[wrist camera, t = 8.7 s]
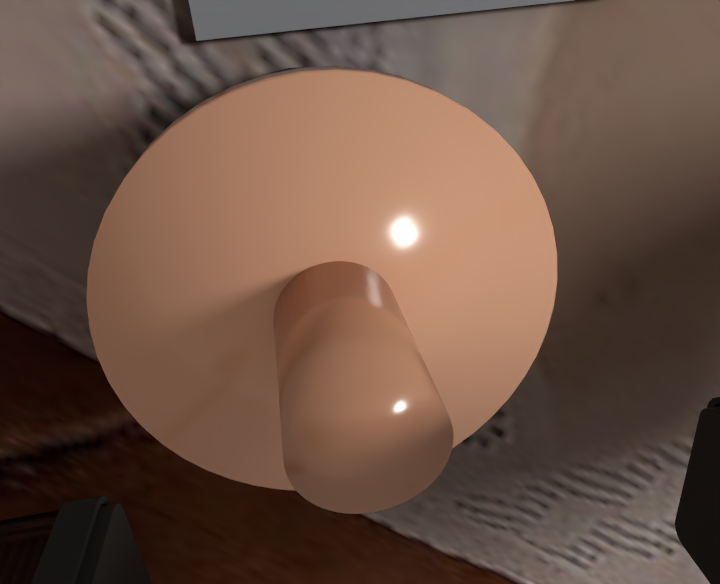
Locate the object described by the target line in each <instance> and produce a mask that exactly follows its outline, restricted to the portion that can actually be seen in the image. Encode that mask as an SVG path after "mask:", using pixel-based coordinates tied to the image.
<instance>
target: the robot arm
mask: <svg viewBox="0 0 720 584" xmlns="http://www.w3.org/2000/svg"><path fill="white" fill-rule="evenodd" d="M675 527H676V532H677V535H678V537H679V540H680V542H681V543H682V545H683V546H684V548H685V549H686V551H687V552H688V553H689V555H690V556H691V557H692V559H693V560H694V562H695V563H696V564H697V566H698V567H699V568H700V570H701V571H702V573H703V574H704V575H705V577H706V578H707V579H708V581H709V582H710V584H720V397H717V398H713V399H712V400H710V401H709V403H708V406H707V408H705V409H703V410H702V411H701V413H700V416H699V420H698V425H697V429H696V433H695V438H694V442H693V446H692V451H691V455H690V459H689V464H688V468H687V472H686V477H685V481H684V485H683V490H682V494H681V498H680V503H679V507H678V511H677V516H676V520H675ZM31 584H152V582H151V580H150V577H149V574H148V572H147V569H146V566H145V564H144V561H143V559H142V556H141V553H140V551H139V548H138V546H137V543H136V540H135V538H134V535H133V532H132V530H131V527H130V525H129V522H128V519H127V517H126V514H125V511H124V509H123V507H122V505H121V504H112V505H111V502H110V501H109V499H108V498H107V497H106V496H100V497H94V498H88V499H81V500H75V501H69V502H65V503H64V504H63V505H62V507H61V509H60V510H59V513H58V515H57V518H56V520H55V523H54V526H53V528H52V531H51V533H50V536H49V538H48V541H47V544H46V546H45V549H44V551H43V554H42V556H41V559H40V561H39V564H38V567H37V569H36V572H35V574H34V577H33V579H32V582H31Z"/></svg>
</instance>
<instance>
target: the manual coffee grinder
mask: <svg viewBox="0 0 720 584" xmlns="http://www.w3.org/2000/svg"><path fill="white" fill-rule="evenodd" d="M58 513H59V512H51V513H45V514H39V515H34V516H28V517H22V518H17V519H11V520H5V521H0V584H31V582H32V579H33V577H34V574H35V572H36V569H37V567H38V564H39V561H40V559H41V556H42V554H43V551H44V549H45V546H46V544H47V541H48V538H49V536H50V533H51V531H52V528H53V526H54V523H55V520H56V518H57V515H58Z"/></svg>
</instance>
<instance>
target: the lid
mask: <svg viewBox="0 0 720 584" xmlns="http://www.w3.org/2000/svg"><path fill="white" fill-rule="evenodd" d="M556 286H557V250H556V244H555V237H554V230H553V226H552V223H551V219H550V216H549V213H548V210H547V206H546V203H545V201H544V198H543V196H542V194H541V192H540V190H539V188H538V186H537V184H536V182H535V180H534V178H533V176H532V175H531V173H530V172H529V170H528V169H527V167H526V166H525V164H524V163H523V161H522V160H521V159H520V157H519V156H518V154H517V153H516V152H515V151H514V149H513V148H512V147H511V146H510V145H509V144H508V143H507V142H506V141H505V140H504V139H503V138H502V137H501V136H500V135H499V134H498V133H497V131H496V130H494V129H493V128H492V127H490V126H489V125H488V124H487V123H485V122H484V121H483V120H481V119H480V118H479V117H478V116H476V115H475V114H474V113H473V112H471V111H470V110H468V109H466V108H465V107H463V106H461V105H460V104H458V103H456V102H455V101H453V100H451V99H449V98H448V97H446V96H444V95H442V94H440V93H439V92H437V91H435V90H433V89H432V88H430V87H427V86H424V85H422V84H419V83H417V82H414V81H411V80H409V79H406V78H404V77H401V76H397V75H393V74H388V73H384V72H380V71H375V70H371V69H364V68H352V67H340V66H326V67H308V68H297V69H292V70H287V71H282V72H277V73H272V74H267V75H263V76H260V77H257V78H254V79H252V80H249V81H246V82H243V83H240V84H237V85H234V86H232V87H230V88H228V89H226V90H224V91H222V92H220V93H218V94H216V95H214V96H212V97H210V98H208V99H206V100H204V101H202V102H201V103H199V104H198V105H196V106H195V107H194V108H192V109H191V110H189V111H188V112H187V113H185V114H184V115H182V116H181V117H179V118H178V119H177V120H175V121H174V122H173V123H172V124H171V125H169V126H168V127H167V128H166V129H165V130H164V131H163V132H162V133H161V134H160V135H159V136H158V137H157V138H156V139H155V140H154V141H153V142H152V143H151V144H150V145H149V146H148V147H147V148H146V150H145V151H144V152H143V153H142V155H141V156H140V157H139V158H138V160H137V161H136V162H135V164H134V165H133V166H132V167H131V169H130V170H129V171H128V173H127V175H126V176H125V178H124V180H123V181H122V183H121V185H120V186H119V188H118V190H117V192H116V193H115V195H114V197H113V199H112V201H111V202H110V204H109V206H108V208H107V209H106V211H105V213H104V216H103V219H102V221H101V224H100V227H99V229H98V232H97V235H96V238H95V240H94V243H93V248H92V253H91V258H90V263H89V268H88V277H87V311H88V319H89V327H90V333H91V336H92V340H93V343H94V347H95V350H96V354H97V358H98V360H99V362H100V364H101V366H102V369H103V371H104V373H105V375H106V377H107V380H108V382H109V384H110V385H111V387H112V388H113V390H114V391H115V393H116V394H117V396H118V397H119V399H120V401H121V402H122V404H123V405H124V406H125V408H126V409H127V410H128V411H129V412H130V413H131V414H132V416H133V417H134V418H135V419H136V420H137V421H138V423H139V424H140V425H141V426H142V427H143V428H144V429H146V430H147V431H148V432H149V433H150V434H151V435H152V436H153V437H155V438H156V439H157V440H158V441H159V442H160V443H162V444H163V445H164V446H166V447H167V448H169V449H170V450H172V451H173V452H175V453H176V454H178V455H179V456H181V457H182V458H184V459H186V460H188V461H190V462H192V463H194V464H196V465H197V466H199V467H201V468H203V469H205V470H207V471H210V472H213V473H215V474H218V475H221V476H223V477H226V478H229V479H232V480H235V481H239V482H243V483H247V484H251V485H255V486H260V487H267V488H274V489H280V490H296V491H297V492H298V493H299V494H300V495H301V496H302V497H304V498H305V499H306V500H308V501H309V502H311V503H313V504H315V505H316V506H319V507H321V508H324V509H326V510H330V511H334V512H339V513H347V514H363V513H372V512H378V511H382V510H386V509H389V508H392V507H395V506H398V505H400V504H402V503H404V502H407V501H408V500H410V499H412V498H414V497H415V496H417V495H418V494H420V493H421V492H422V491H424V490H425V489H426V488H427V487H428V486H430V485H431V484H432V483H433V482H434V481H435V480H436V478H437V477H438V476H439V475H440V473H441V472H442V471H443V469H444V467H445V466H446V464H447V462H448V460H449V457H450V454H451V451H452V448H454V447H455V446H456V445H458V444H459V443H461V442H462V441H463V440H465V439H466V438H467V437H469V436H470V435H472V434H473V433H474V432H475V431H477V430H478V429H479V428H480V427H481V426H482V425H483V424H484V423H486V422H487V421H488V420H489V419H490V418H491V417H492V416H493V415H494V414H495V413H496V412H497V411H498V410H499V409H500V408H501V406H502V405H503V404H504V403H505V402H506V401H507V400H508V399H509V398H510V396H511V395H512V394H513V392H514V391H515V389H516V388H517V387H518V385H519V384H520V383H521V381H522V380H523V378H524V377H525V375H526V374H527V372H528V370H529V368H530V367H531V365H532V363H533V361H534V359H535V358H536V356H537V354H538V352H539V349H540V347H541V344H542V342H543V340H544V337H545V335H546V332H547V329H548V326H549V322H550V318H551V315H552V311H553V307H554V301H555V294H556Z"/></svg>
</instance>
